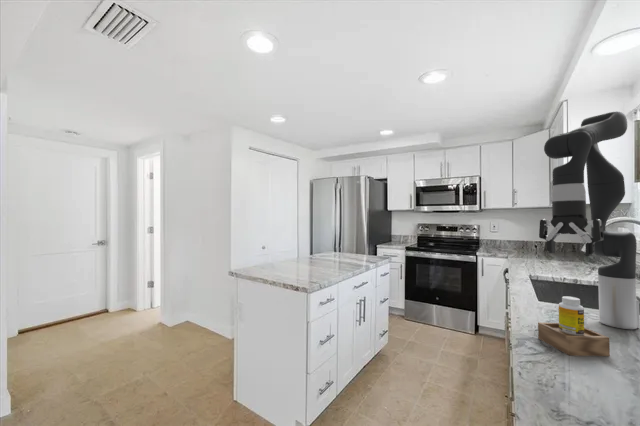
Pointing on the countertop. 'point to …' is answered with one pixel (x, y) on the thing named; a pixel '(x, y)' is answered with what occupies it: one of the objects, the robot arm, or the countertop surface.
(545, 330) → the walnut tray
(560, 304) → the supplement bottle
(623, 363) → the countertop surface
